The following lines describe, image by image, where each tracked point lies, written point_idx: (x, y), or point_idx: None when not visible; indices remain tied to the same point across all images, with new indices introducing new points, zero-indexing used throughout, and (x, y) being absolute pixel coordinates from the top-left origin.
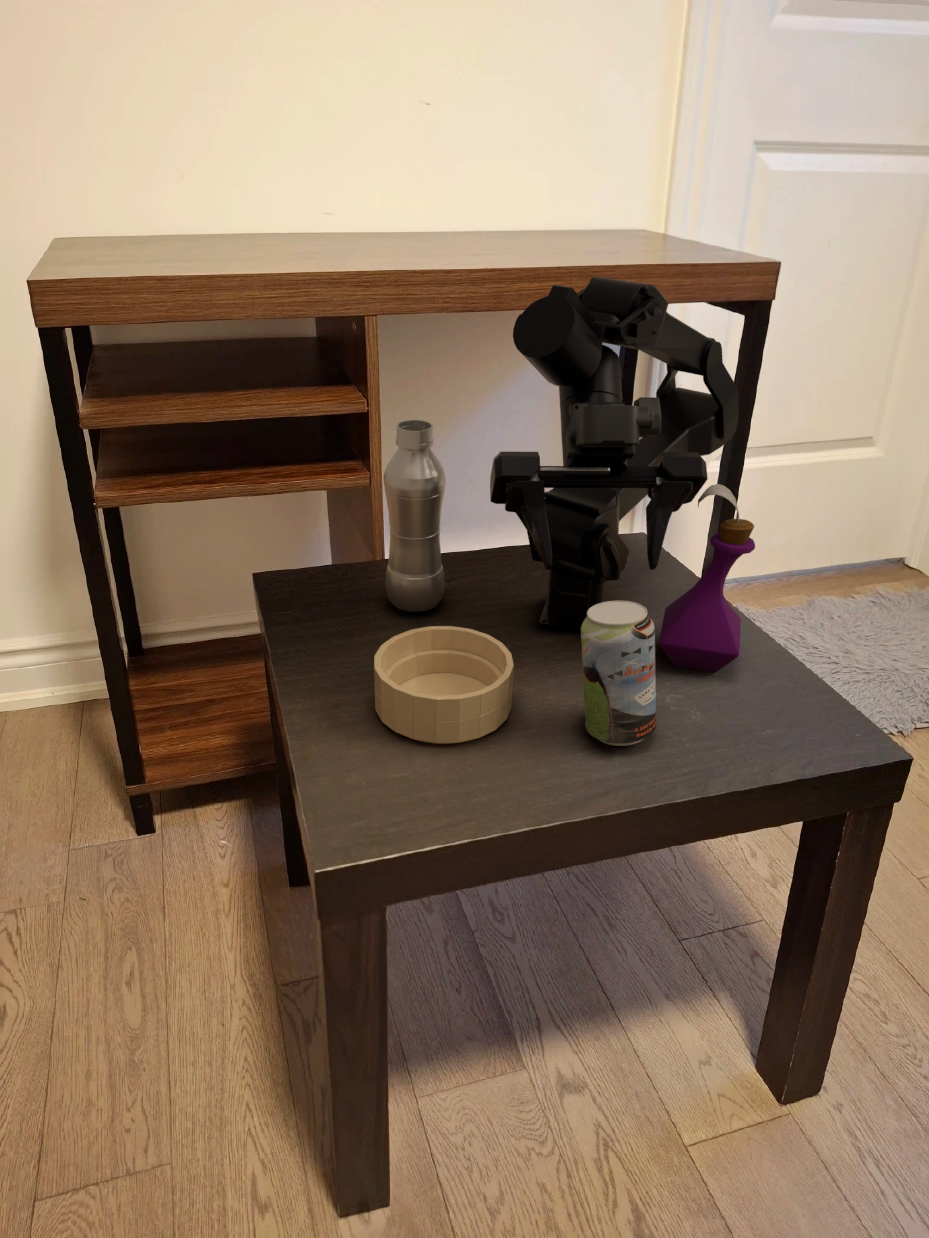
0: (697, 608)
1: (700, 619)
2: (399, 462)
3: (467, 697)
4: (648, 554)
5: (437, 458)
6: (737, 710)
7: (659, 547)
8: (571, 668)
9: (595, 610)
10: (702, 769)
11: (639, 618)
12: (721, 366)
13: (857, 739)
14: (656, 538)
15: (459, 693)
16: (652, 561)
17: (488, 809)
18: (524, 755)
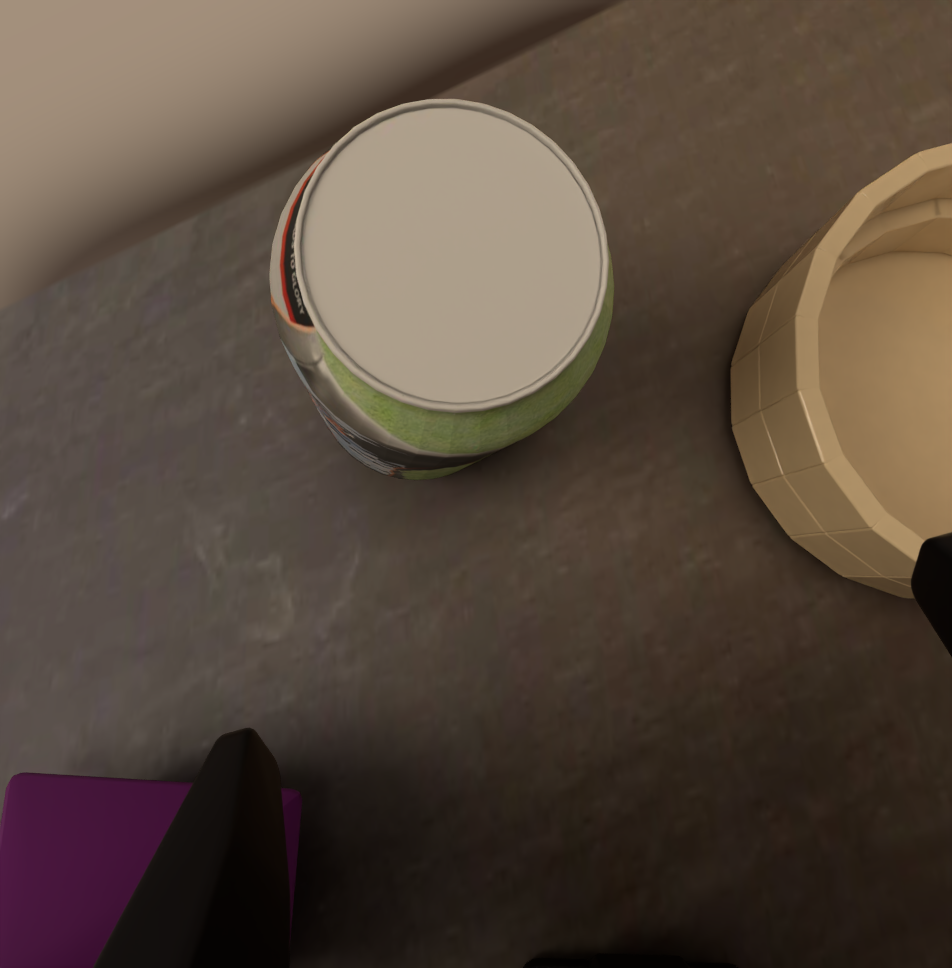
0: (106, 924)
1: (110, 882)
2: None
3: (894, 168)
4: (278, 881)
5: None
6: (85, 596)
7: (166, 854)
8: (590, 712)
9: (568, 285)
10: (203, 297)
11: (333, 167)
12: None
13: None
14: (172, 929)
15: (892, 460)
16: (246, 747)
17: (692, 44)
18: (651, 250)
